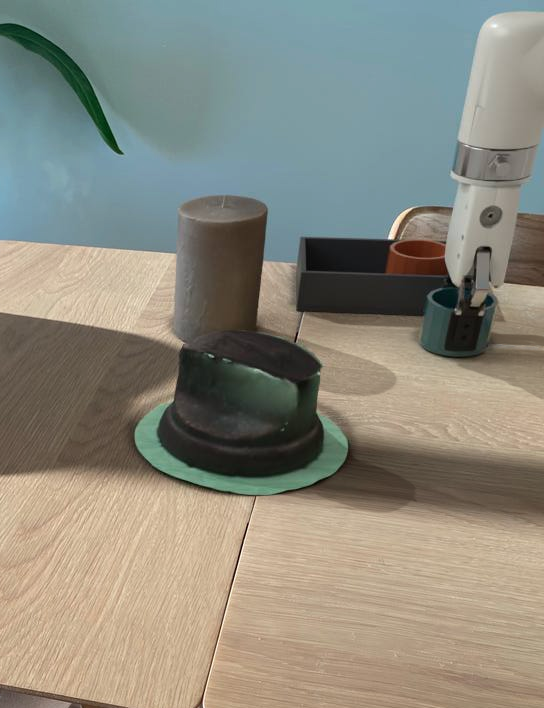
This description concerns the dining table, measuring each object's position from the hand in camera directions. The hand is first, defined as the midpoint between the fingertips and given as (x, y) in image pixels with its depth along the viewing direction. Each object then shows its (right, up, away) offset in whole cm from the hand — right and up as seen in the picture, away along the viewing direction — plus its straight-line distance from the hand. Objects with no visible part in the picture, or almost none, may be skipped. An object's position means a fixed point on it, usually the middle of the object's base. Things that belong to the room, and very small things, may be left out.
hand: (454, 334), depth 107 cm
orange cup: (0, +9, +12) cm, 15 cm away
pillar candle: (-26, +2, +6) cm, 26 cm away
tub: (-4, +9, +13) cm, 17 cm away
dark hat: (-26, -15, -14) cm, 34 cm away
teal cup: (0, -1, +1) cm, 1 cm away
